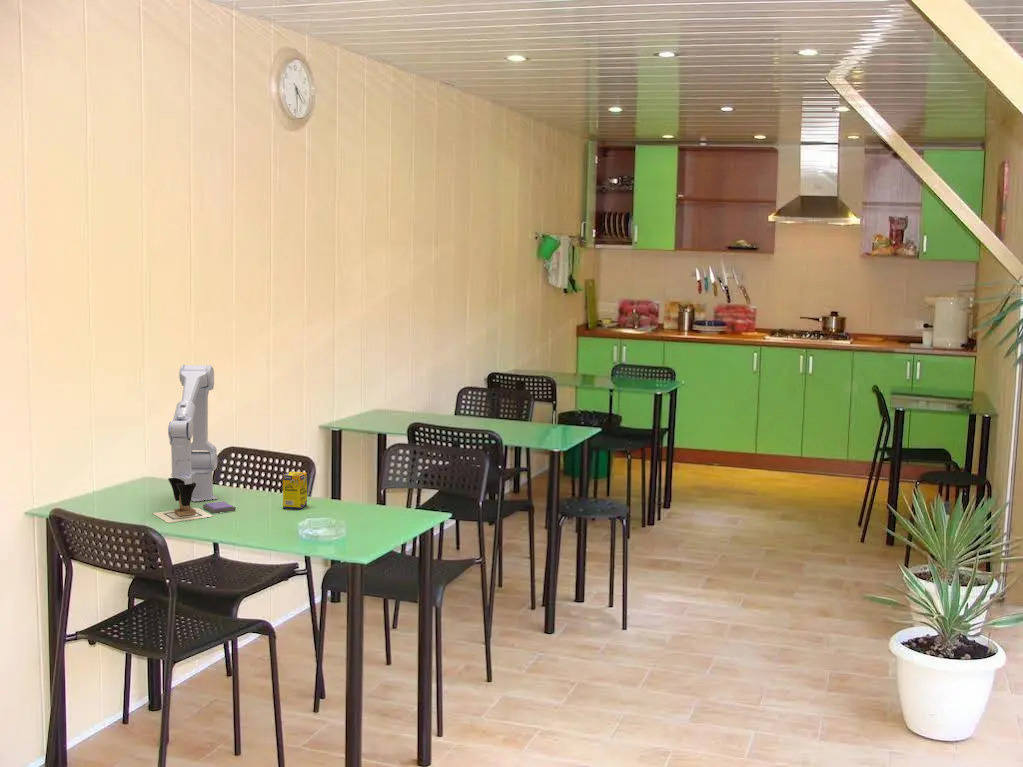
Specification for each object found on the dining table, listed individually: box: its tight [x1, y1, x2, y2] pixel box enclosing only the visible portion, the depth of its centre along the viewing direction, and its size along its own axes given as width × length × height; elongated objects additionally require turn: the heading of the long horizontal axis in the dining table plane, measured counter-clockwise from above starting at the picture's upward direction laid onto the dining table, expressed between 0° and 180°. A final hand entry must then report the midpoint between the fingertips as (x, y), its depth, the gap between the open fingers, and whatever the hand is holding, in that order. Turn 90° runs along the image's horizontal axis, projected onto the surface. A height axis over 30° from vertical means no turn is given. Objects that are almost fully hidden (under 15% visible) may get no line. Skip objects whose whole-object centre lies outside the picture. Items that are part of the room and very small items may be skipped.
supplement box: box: [282, 471, 308, 511], centre depth 359 cm, size 6×6×11 cm
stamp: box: [174, 495, 196, 517], centre depth 348 cm, size 5×5×7 cm
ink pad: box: [202, 500, 237, 514], centre depth 355 cm, size 9×7×2 cm
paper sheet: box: [152, 507, 214, 524], centre depth 348 cm, size 14×14×1 cm
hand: (182, 503), depth 347 cm, fingers open, 7 cm apart
